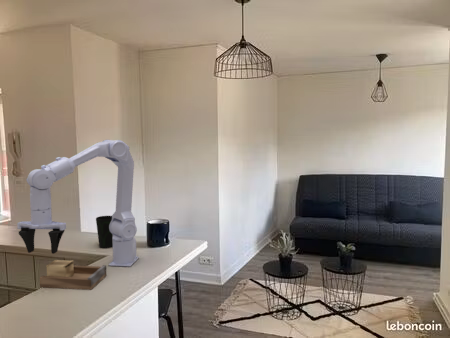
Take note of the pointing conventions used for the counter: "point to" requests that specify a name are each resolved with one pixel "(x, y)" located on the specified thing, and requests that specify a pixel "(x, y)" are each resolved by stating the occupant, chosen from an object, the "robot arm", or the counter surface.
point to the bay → (76, 278)
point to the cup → (104, 231)
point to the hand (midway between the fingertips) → (42, 252)
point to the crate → (60, 268)
